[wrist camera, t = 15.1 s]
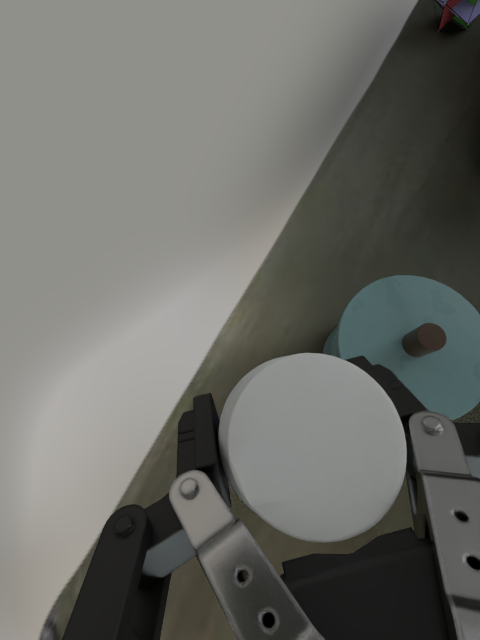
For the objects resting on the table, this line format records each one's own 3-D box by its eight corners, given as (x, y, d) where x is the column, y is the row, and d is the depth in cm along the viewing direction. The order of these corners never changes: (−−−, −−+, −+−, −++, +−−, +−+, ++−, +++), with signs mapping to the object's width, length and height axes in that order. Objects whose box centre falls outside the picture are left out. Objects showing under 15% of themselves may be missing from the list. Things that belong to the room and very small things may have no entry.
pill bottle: (358, 445, 18) (481, 469, 8) (273, 516, 17) (301, 635, 7) (290, 360, 19) (327, 296, 10) (209, 421, 18) (163, 416, 9)
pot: (386, 292, 36) (445, 235, 25) (457, 387, 33) (559, 369, 22) (295, 342, 35) (314, 306, 24) (359, 446, 32) (415, 459, 21)
